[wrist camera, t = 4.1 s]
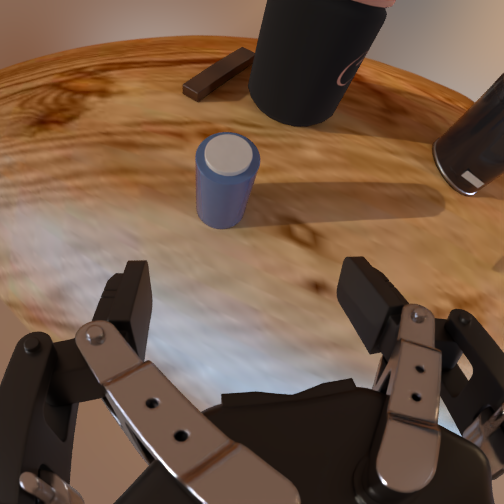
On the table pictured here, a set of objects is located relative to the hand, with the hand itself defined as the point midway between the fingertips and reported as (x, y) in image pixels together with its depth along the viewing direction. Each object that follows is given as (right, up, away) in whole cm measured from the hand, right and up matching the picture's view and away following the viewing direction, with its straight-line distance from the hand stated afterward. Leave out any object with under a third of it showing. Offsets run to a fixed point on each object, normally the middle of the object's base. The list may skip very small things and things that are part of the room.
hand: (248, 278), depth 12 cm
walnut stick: (-4, +23, +21) cm, 31 cm away
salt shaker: (-3, +5, +15) cm, 16 cm away
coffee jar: (+5, +19, +21) cm, 29 cm away
